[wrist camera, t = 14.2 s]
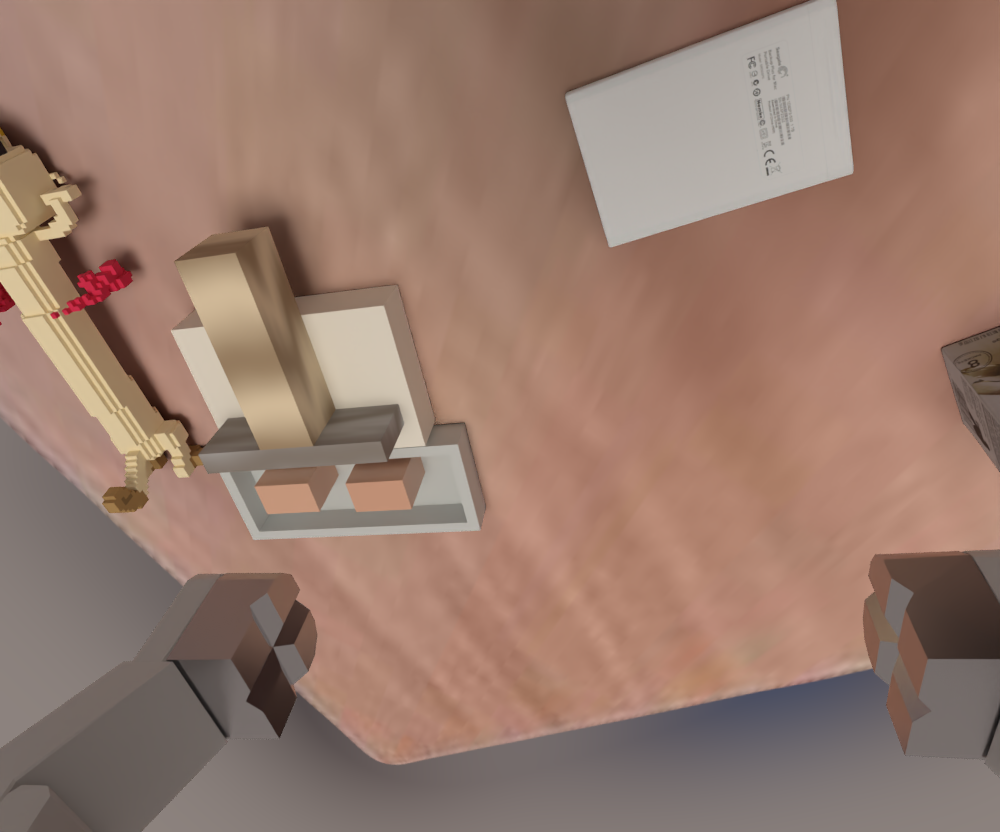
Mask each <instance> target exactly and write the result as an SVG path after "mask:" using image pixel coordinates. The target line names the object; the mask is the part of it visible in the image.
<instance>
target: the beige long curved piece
mask: <svg viewBox="0 0 1000 832" xmlns="http://www.w3.org/2000/svg"><path fill="white" fill-rule="evenodd" d="M53 179H57V180H58V182H59V184H61V183H65V182H66V181H67V180H66V179H65V177H64V176H62V177H59V175H58V173H57V172H53V173H48V172H47V170H46V168H45V167H44V165H43V163H42V162H41V160H40V158H39V157H38V155H37V154H36V153H33V154H32V153H31V151H30V150H29V149H24V148H23V146H22V145H18V146H13V147H12V145H11V143H10V142H9V140H8V139H7V137H6V135H5V134H4V133H3V131H2V129H1V128H0V312H5V311H7V310H8V309H10V308H11V307H13V306H14V305H15V303H16V305H17V306H18V307H19V309H20V310H21V312H22V314H21V315H20V316H21V318H22V320H23V322H24V323H25V324H26V326H27V327H28V329H29V330H30V331H31V333H32V334H33V336H34V337H35V338H36V340H37V341H38V343H39V344H40V345H41V347H42V348H43V349H44V351H45V352H46V354H47V355H48V356H49V358H50V359H51V361H52V362H53V363H54V365H55V366H56V368H57V369H58V370H59V372H60V373H61V375H62V376H63V377H64V379H65V380H66V382H67V383H68V384H69V386H70V387H71V388H72V390H73V391H74V393H75V394H76V395H77V397H78V398H79V400H80V401H81V402H82V404H83V405H84V407H85V408H86V409H87V411H88V412H89V414H90V415H91V416H92V417H95V416H96V417H97V418H98V420H99V421H100V422H101V424H102V425H103V427H104V428H105V430H106V431H107V432H108V434H109V435H110V437H111V438H110V439H111V441H112V442H113V443H114V445H115V446H116V448H117V449H118V450H119V452H120V453H121V454H126V456H125V458H126V462H125V464H126V466H127V467H126V468H125V471H126V472H127V473H126V474H125V475H124V476H125V477H126V478H127V479H126V480H125V481H124V482H125V483H126V486H125V487H110V488H109V489H108V490H107V492H106V493H105V494H104V495H103V497H102V498H103V499H104V500H105V501H104V502H103V503H102V504H103V505H104V507H105V508H106V509H107V511H108V512H109V513H122V512H124V513H125V512H135V511H136V510H137V509H142V508H143V506H144V505H145V504H146V502H147V501H148V500H149V499H148V497H147V495H148V494H149V493H148V491H147V489H148V485H147V483H148V481H149V480H148V478H149V476H150V475H151V474H152V472H153V471H154V470H155V469H162V468H163V466H164V465H165V464H166V462H167V461H168V460H167V458H166V457H165V455H164V454H163V453H164V451H165V450H168V451H169V452H170V454H171V455H172V458H171V461H172V463H173V464H174V467H173V470H174V472H175V473H176V475H177V476H178V478H181V477H190V475H191V474H192V472H193V471H194V469H195V468H196V466H199V465H203V463H202V461H201V459H200V457H199V455H198V454H199V453H200V452H201V450H202V449H203V448H201V447H200V445H191V446H188V445H187V443H186V442H185V441H186V440H187V437H188V436H189V435H188V433H187V432H186V430H185V428H184V427H183V425H182V424H181V422H180V421H179V420H178V421H176V420H167V421H164V419H163V418H162V416H161V415H160V413H159V412H158V410H157V409H156V407H151V405H150V404H149V402H148V401H147V399H146V397H145V396H144V394H143V393H142V391H141V390H140V388H139V387H138V385H137V383H136V382H135V380H134V379H133V377H132V376H131V375H127V374H126V373H125V371H124V370H123V368H122V367H121V365H120V363H119V362H118V360H117V359H116V357H115V356H114V354H113V353H112V351H111V350H110V348H109V346H108V345H107V343H106V342H105V340H104V339H103V337H102V336H101V334H100V333H99V331H98V330H97V328H96V326H95V325H94V323H93V322H92V320H91V319H90V317H89V316H88V314H87V313H86V311H85V309H84V308H85V307H86V306H88V305H95V304H96V303H98V302H101V301H103V300H105V299H106V298H107V297H108V296H109V295H110V294H111V293H110V292H114V291H118V290H120V289H121V288H125V287H126V286H128V285H129V284H130V283H131V282H132V281H133V280H132V278H131V276H132V274H131V272H130V271H125V269H124V268H123V267H122V268H121V266H120V265H119V263H118V261H116V259H114V260H108V261H106V262H105V263H104V264H102V265H101V266H100V267H99V269H100V270H101V272H98V273H96V274H94V273H93V272H92V270H90V271H87V272H85V273H83V274H79V275H78V276H77V277H78V279H79V280H80V281H79V282H78V283H77V284H78V286H79V287H80V288H82V287H84V288H85V290H86V291H87V292H88V294H84V295H82V296H80V295H79V293H78V292H77V290H76V289H75V287H74V286H73V284H72V282H71V281H70V279H69V278H68V276H67V275H66V273H65V272H64V270H63V269H62V267H61V265H60V264H59V261H60V260H61V258H60V257H59V255H58V254H57V252H56V251H55V249H54V247H53V246H52V244H51V243H50V241H49V239H54V238H60V237H66V236H67V235H69V234H70V233H72V232H71V230H72V229H74V228H75V227H77V224H76V222H77V221H79V219H78V218H77V216H76V214H75V213H74V211H73V210H72V208H71V206H70V205H69V203H68V201H73V200H74V199H76V198H78V197H79V196H81V195H82V194H81V192H80V190H79V189H78V187H77V185H71V184H69V185H64V186H61V187H59V188H57V187H56V185H55V183H54V182H53ZM56 214H57V215H56ZM54 215H56V216H54ZM53 216H54V220H52V221H51V222H49V223H48V224H49V226H44V227H40V226H39V225H40V224H42V223H43V222H45V221H46V220H48V219H49V218H51V217H53ZM1 324H2V323H1V322H0V325H1Z"/></svg>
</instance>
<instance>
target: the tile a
mask: <svg viewBox="0 0 1000 832" xmlns="http://www.w3.org/2000/svg"><path fill="white" fill-rule="evenodd" d="M338 476H339V474H338V472H337V469H336V467H335V465H332V466H317V467H302V468H286V469H271V470H265V471H264V473H263V474H262V476H261V477H260V479H259V480H258V482H257V483H256V485H255V486H254V487H255V489H256V491H257V494H258V496H259V498H260V500H261V502H262V504H263V506H264V508H265V510H266V512H267V514H282V513H302V512H320V510H321V508H322V506H323V504H324V503H325V501H326V499H327V497H328V495H329V493H330V491H331V489H332V487H333V485H334V484H335V482H336V480H337V478H338Z"/></svg>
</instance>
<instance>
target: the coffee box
mask: <svg viewBox="0 0 1000 832" xmlns="http://www.w3.org/2000/svg"><path fill="white" fill-rule="evenodd" d="M942 355H943V358H944V361H945V364H946V368H947V371H948V375H949V378H950V382H951V385H952V388H953V392H954V395H955V398H956V402H957V405H958V408H959V411H960V414H961V418H962V421H963V424H964V425H965V426H966V427H967V428H968V430H969V431H970V432H971V433H972V434H973V436H974V437H975V438H976V440H977V441H978V443H979V444H980V445H981V447H982V448H983V449H984V451H985V452H986V454H987V455H988V457H989V458H990V459H991V461H992V462H993V463H994V465H995V466H996V468H997V469H998V471H999V472H1000V327H998V328H996V329H993V330H990V331H987V332H985V333H982V334H979V335H976V336H973V337H971V338H968V339H965V340H963V341H960V342H957V343H954V344H951V345H949V346H946V347H944V348H942Z"/></svg>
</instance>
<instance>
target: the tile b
mask: <svg viewBox="0 0 1000 832" xmlns="http://www.w3.org/2000/svg"><path fill="white" fill-rule="evenodd" d="M424 474H425V470H424V466H423V463H422V460H421V457H411V458H395V459H389V460H388V462H378V463H363V464H355V466H354V468H353V469H352V471H351V473H350V475H349V477H348V479H347V481H346V483H345V484H346V487H347V489H348V492H349V494H350V497H351V500H352V502H353V505H354V507H355V510H356V512H368V511H388V510H408V509H412V507H413V505H414V502H415V499H416V496H417V494H418V491H419V488H420V485H421V483H422V480H423V477H424Z"/></svg>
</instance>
